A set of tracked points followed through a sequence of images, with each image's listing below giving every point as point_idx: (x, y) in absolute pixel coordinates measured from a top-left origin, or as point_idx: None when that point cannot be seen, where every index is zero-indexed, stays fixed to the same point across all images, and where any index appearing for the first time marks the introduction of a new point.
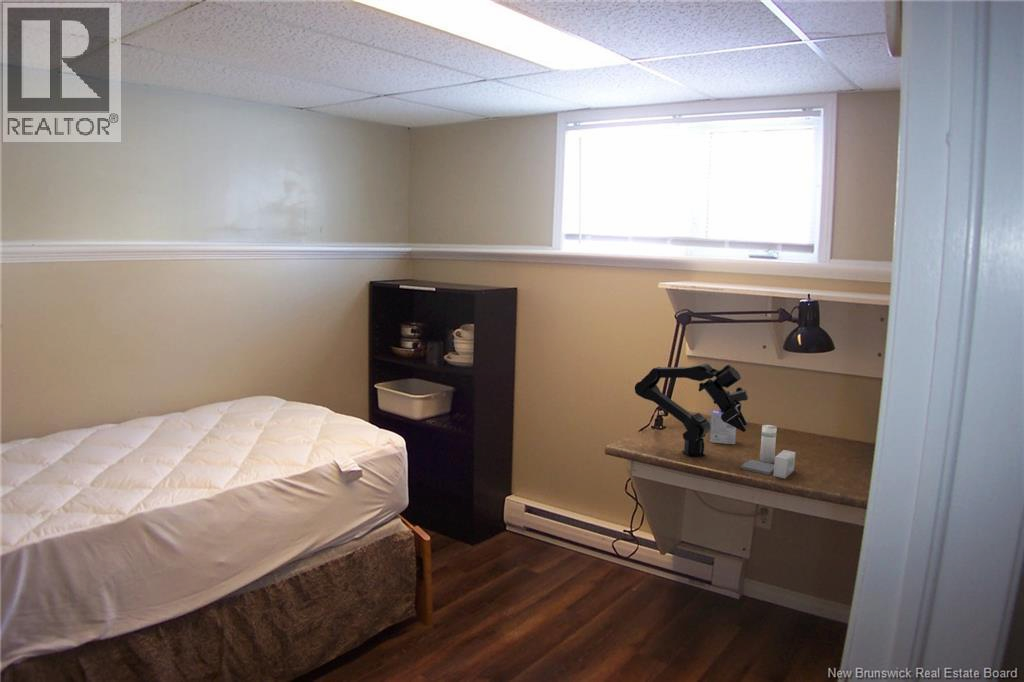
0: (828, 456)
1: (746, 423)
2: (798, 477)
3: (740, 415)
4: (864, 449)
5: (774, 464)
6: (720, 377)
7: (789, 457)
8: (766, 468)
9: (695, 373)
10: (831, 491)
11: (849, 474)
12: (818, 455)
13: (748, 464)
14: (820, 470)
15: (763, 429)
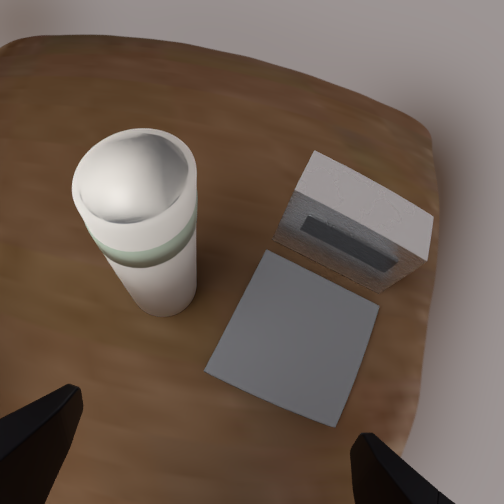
0: (98, 83)
1: (75, 393)
2: None
3: (12, 474)
4: (59, 35)
5: (405, 275)
6: None
7: (398, 197)
8: (332, 311)
9: None
10: (426, 161)
11: (265, 76)
12: (86, 101)
13: (297, 391)
14: (249, 123)
15: (157, 236)
